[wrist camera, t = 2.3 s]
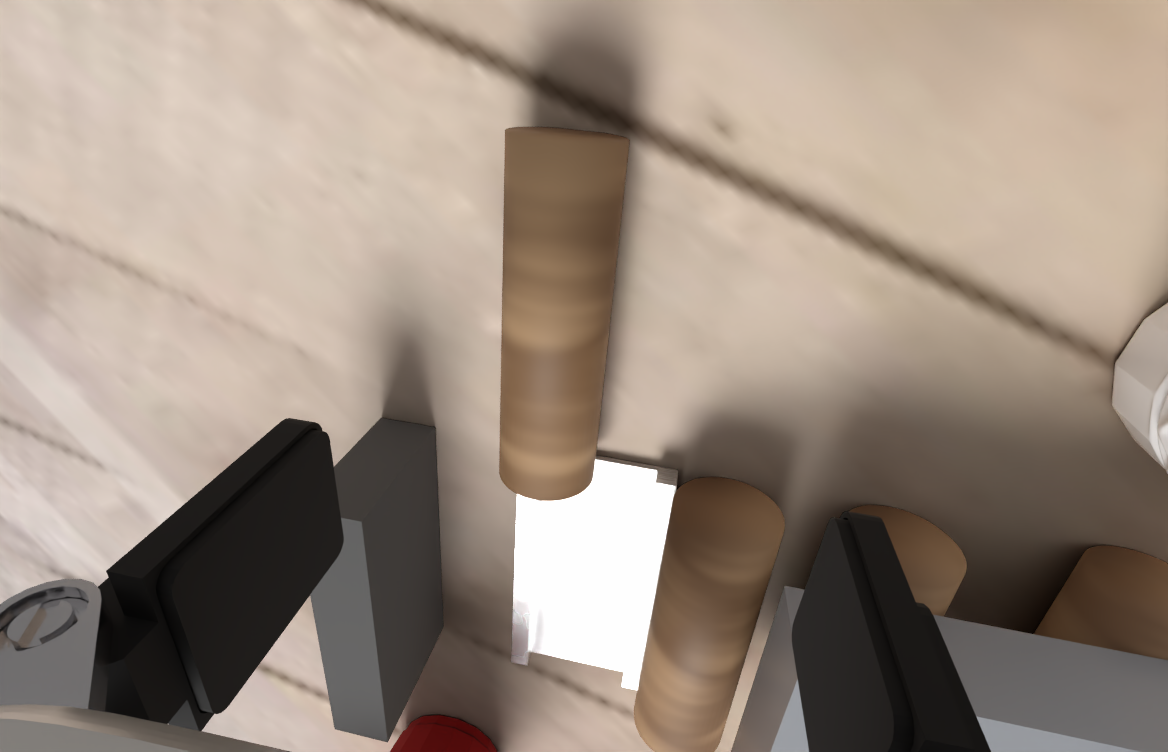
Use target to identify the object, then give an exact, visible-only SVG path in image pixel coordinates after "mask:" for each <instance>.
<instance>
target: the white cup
mask: <svg viewBox="0 0 1168 752" xmlns="http://www.w3.org/2000/svg"><path fill="white" fill-rule="evenodd" d="M1112 406H1113V408H1114V409H1115V411H1116V413H1117V414H1118V416H1119V417H1120V419H1121V421H1122V422H1123V424H1124V425H1125V427H1126V428H1127V430H1128V432H1129V433H1130V435H1131V436H1132V438H1133V439H1134V440H1135V441H1136V442H1137V443H1138V444H1139V445H1140V446H1141V447H1142V448H1143V449H1144V450H1145V451H1146V452H1147V453H1148V454H1149V455H1150V456H1151V457H1152V458H1153V459H1154V460H1155V461H1157V462H1158V463H1159V464H1160V465H1161V466H1162V467H1163V468H1164V469H1165V470H1166V472H1167V474H1168V303H1166V304H1165V305H1163V306H1162V307H1161V308H1159V309H1158V310H1156V311H1155V312H1154V313H1152V314H1151V315H1150V316H1148V317H1147V318H1146V319H1144V321H1143V322H1142V323H1141V325H1140V326H1139V328H1138V329H1137V331H1136V332H1135V334H1134V335H1133V337H1132V338H1131V340H1130V341H1129V343H1128V344H1127V346H1126V347H1125V349H1124V350H1123V352H1122V353H1121V355H1120V356H1119V358H1118V359H1117V361H1116V363H1115V370H1114V382H1113V394H1112Z"/></svg>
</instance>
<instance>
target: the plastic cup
mask: <svg viewBox="0 0 1168 752" xmlns="http://www.w3.org/2000/svg"><path fill="white" fill-rule="evenodd" d="M390 752H497V750H496V748H495V747H494V745H493V743H492V742H491V740H490V739H489V738H488V737H487V736H486V735H484V734H483V733H482V732H481V731H480V730H478V729H477V728H476V727H474V726H472V725H470V724H468V723H466V722H463V721H461V720H459V719H456V718H451V717H446V716H442V715H432V716H422V717H420V718H418V719H416V720H414V721H412V722H411V723H410V725H409V726H408V728H407V729H406V730H404V731H403V732H402V734H401V735H400V737H399V738H398V740H397V742H396V743H395V745H394V746H393V748H392V749H391V751H390Z"/></svg>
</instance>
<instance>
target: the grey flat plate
mask: <svg viewBox="0 0 1168 752" xmlns="http://www.w3.org/2000/svg"><path fill="white" fill-rule="evenodd" d="M677 477H678V470H677V469H671V468H665V467H659V466H654V465H648V464H642V463H637V462H631V461H625V460H619V459H614V458H608V457H602V456H597V455H596V459H595V469H594V477H593V480H592V483H591V484H590V486H589V487H588V488H587V489H586V490H585V491H583V492H582V493H580V494H579V495H577V496H574V497H572V498H569V499H564V500H559V501H539V500H533V499H529V498H526V497H523V496H520V495H518V494H517V510H516V539H515V567H514V596H513V625H512V653H511V662H513V663H518V664H522V665H528V661H529V658H530V655H531V652H536V653H540V654H545V655H549V656H554V657H558V658H563V659H567V660H572V661H576V662H581V663H585V664H590V665H594V666H599V667H604V668H608V669H613V670H617V671H622V672H624V673H623V680H622V687H625V688H629V689H634V690H638V684H639V679H640V673H641V668H642V663H643V657H644V652H645V647H646V641H647V636H648V631H649V625H650V620H651V615H652V609H653V604H654V599H655V593H656V588H657V582H658V577H659V572H660V566H661V561H662V556H663V550H664V545H665V540H666V534H667V529H668V524H669V518H670V513H671V507H672V502H673V497H674V494H675V492H676V488H677Z"/></svg>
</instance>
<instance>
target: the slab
mask: <svg viewBox="0 0 1168 752" xmlns="http://www.w3.org/2000/svg"><path fill="white" fill-rule="evenodd" d="M803 593H804V589H799V588H794V587H789V586H784V589H783V592H782V595H781V598H780V601H779V604H778V607H777V611H776V614H775V617H774V620H773V623H772V626H771V629H770V632H769V635H768V639H767V642H766V645H765V648H764V651H763V654H762V657H761V660H760V663H759V666H758V670H757V673H756V676H755V679H754V682H753V685H752V688H751V691H750V694H749V698H748V701H747V704H746V707H745V710H744V713H743V716H742V719H741V722H740V725H739V729H738V732H737V735H736V738H735V741H734V744H733V747H732V750H731V752H809V748H808V741H807V735H806V729H805V723H804V716H803V710H802V704H801V697H800V691H799V685H798V678H797V672H796V666H795V660H794V653H793V647H792V627H793V622H794V619H795V616H796V613H797V610H798V608H799V605H800V602H801V599H802V596H803ZM933 616H934V618H935V620H936V623H937V625H938V627H939V630H940V632H941V634H942V637H943V639H944V641H945V644H946V646H947V649H948V651H949V653H950V656H951V658H952V660H953V663H954V665H955V667H956V670H957V672H958V674H959V677H960V679H961V682H962V684H963V686H964V689H965V691H966V693H967V696H968V698H969V700H970V703H971V705H972V708H973V710H974V712H975V715H976V717H977V719H978V722H979V724H980V726H981V729H982V731H983V733H984V736H985V738H986V741H987V743H988V745H989V748H990V750H991V752H1168V660H1163V659H1158V658H1153V657H1148V656H1143V655H1138V654H1132V653H1127V652H1122V651H1117V650H1112V649H1107V648H1102V647H1097V646H1091V645H1086V644H1081V643H1076V642H1071V641H1066V640H1061V639H1055V638H1050V637H1045V636H1040V635H1035V634H1030V633H1025V632H1020V631H1014V630H1009V629H1004V628H999V627H994V626H989V625H984V624H979V623H973V622H968V621H963V620H958V619H953V618H948V617H943V616H938V615H933Z"/></svg>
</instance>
